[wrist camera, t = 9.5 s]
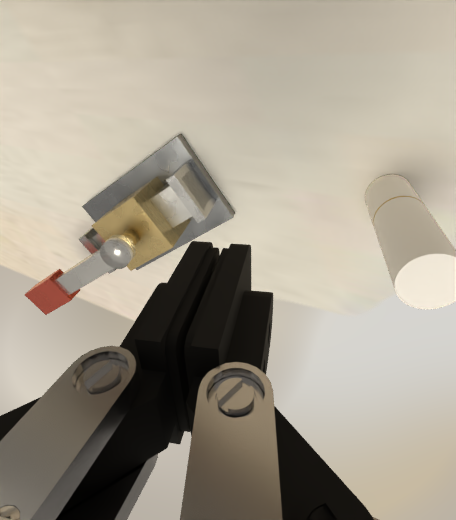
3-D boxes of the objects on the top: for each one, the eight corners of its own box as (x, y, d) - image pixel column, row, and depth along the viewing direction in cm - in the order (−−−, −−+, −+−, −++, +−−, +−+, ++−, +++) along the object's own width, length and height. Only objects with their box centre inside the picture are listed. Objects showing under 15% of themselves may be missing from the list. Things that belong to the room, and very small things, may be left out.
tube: (356, 191, 35) (381, 275, 23) (397, 165, 33) (450, 241, 20) (379, 223, 36) (415, 318, 24) (420, 199, 34) (483, 290, 22)
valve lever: (121, 227, 32) (112, 237, 30) (143, 253, 33) (134, 263, 31) (35, 284, 38) (24, 294, 36) (56, 304, 39) (45, 314, 37)
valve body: (87, 202, 42) (37, 238, 34) (180, 133, 35) (145, 159, 28) (140, 265, 45) (106, 310, 38) (235, 212, 39) (216, 255, 31)
